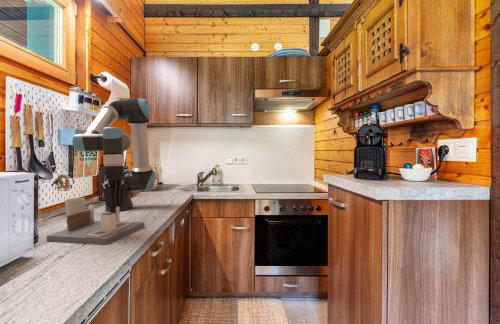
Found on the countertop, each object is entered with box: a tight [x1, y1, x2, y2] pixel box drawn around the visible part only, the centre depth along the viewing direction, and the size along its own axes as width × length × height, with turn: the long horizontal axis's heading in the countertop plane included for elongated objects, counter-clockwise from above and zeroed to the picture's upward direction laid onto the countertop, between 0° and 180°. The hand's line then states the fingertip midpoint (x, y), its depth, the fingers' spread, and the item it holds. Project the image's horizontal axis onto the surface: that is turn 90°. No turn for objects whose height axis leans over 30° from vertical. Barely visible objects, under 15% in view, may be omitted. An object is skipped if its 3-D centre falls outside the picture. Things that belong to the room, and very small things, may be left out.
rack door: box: [66, 209, 91, 230], centre depth 118 cm, size 2×12×6 cm, turn 170°
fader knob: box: [99, 211, 116, 232], centre depth 110 cm, size 4×4×7 cm
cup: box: [64, 197, 86, 216], centre depth 129 cm, size 8×8×12 cm
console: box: [46, 204, 145, 245], centre depth 115 cm, size 24×26×10 cm
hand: (115, 222), depth 114 cm, fingers closed
